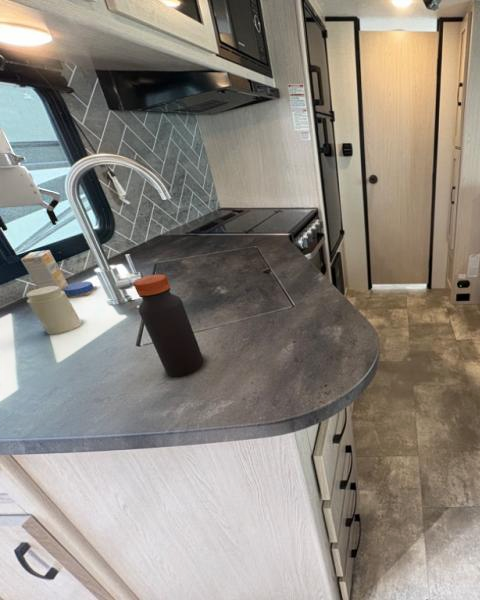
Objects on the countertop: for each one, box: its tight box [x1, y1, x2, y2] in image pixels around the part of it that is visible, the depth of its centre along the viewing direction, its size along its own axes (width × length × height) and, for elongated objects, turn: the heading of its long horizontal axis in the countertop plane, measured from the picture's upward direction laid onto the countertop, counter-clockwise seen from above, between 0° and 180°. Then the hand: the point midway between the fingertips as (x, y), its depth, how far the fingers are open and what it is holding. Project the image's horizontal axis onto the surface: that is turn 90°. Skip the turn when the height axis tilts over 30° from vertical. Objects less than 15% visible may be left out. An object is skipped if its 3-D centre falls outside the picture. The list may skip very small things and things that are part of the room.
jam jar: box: [25, 286, 82, 335], centre depth 79 cm, size 7×7×11 cm
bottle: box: [132, 273, 205, 378], centre depth 61 cm, size 7×7×20 cm
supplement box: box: [20, 249, 69, 291], centre depth 98 cm, size 8×5×13 cm, turn 34°
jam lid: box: [63, 281, 95, 296], centre depth 100 cm, size 7×7×2 cm
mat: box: [66, 286, 98, 298], centre depth 101 cm, size 6×6×1 cm
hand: (30, 227), depth 89 cm, fingers open, 9 cm apart
